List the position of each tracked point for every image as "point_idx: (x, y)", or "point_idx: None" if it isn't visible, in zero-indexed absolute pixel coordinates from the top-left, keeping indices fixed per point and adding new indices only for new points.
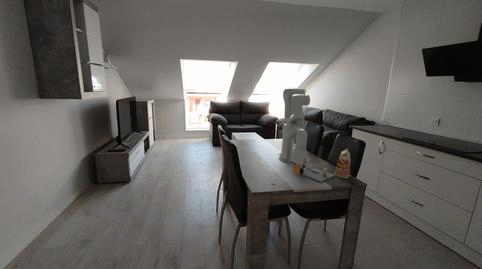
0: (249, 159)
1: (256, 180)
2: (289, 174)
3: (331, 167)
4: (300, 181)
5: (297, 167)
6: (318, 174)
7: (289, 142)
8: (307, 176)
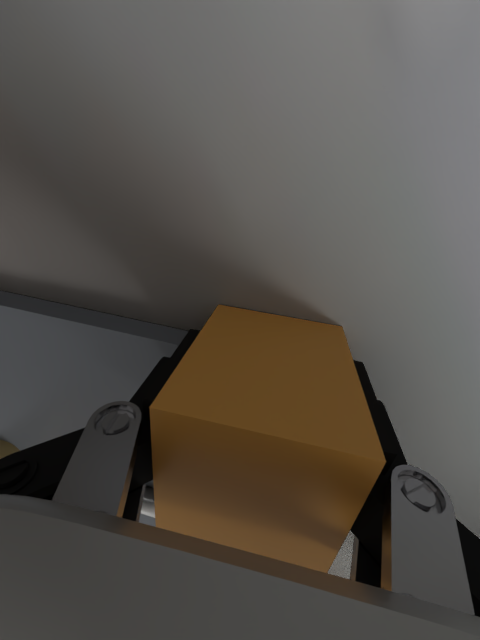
0: None
1: None
2: (382, 197)
3: None
4: (29, 29)
5: (242, 401)
6: None
7: None
8: (83, 317)
